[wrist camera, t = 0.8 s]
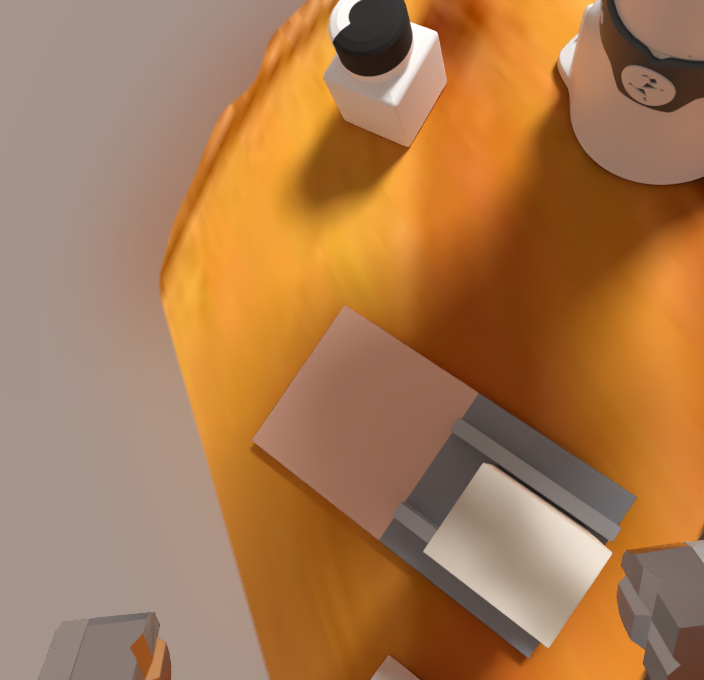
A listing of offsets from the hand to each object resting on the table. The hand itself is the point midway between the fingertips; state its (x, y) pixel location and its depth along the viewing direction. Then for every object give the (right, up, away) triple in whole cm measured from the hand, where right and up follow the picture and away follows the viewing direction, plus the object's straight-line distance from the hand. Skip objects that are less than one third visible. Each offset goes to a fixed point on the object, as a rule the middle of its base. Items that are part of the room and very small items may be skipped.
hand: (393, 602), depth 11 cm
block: (+12, -10, +37) cm, 40 cm away
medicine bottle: (+3, +26, +48) cm, 55 cm away
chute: (+6, -6, +41) cm, 42 cm away
